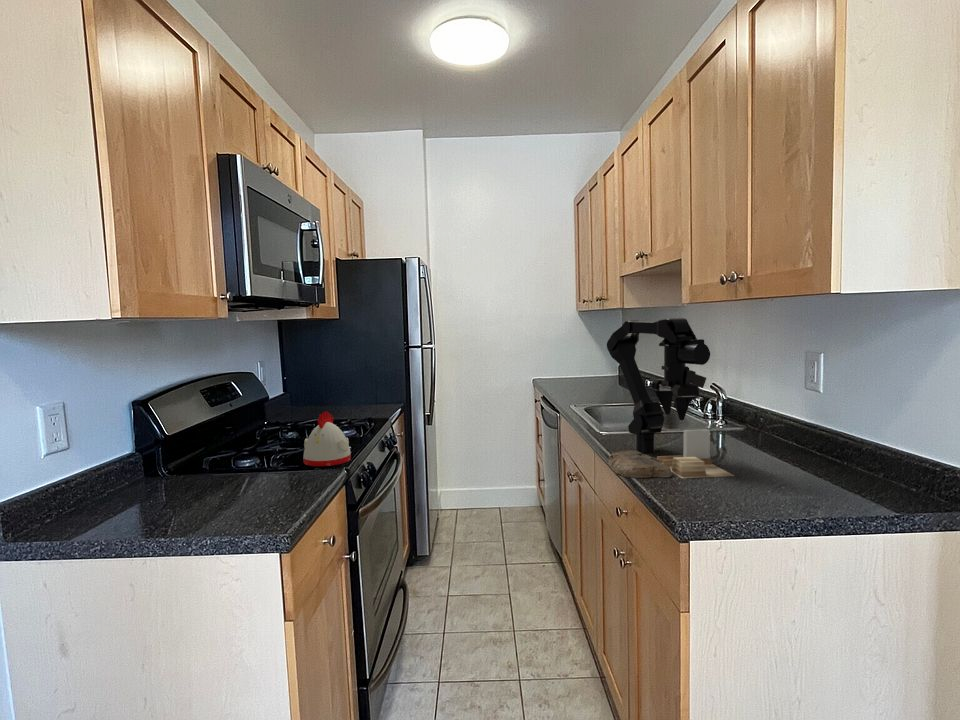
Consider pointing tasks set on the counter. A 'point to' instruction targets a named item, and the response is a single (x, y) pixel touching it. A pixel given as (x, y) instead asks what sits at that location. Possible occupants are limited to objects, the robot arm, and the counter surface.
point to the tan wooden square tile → (689, 473)
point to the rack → (709, 467)
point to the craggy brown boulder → (637, 465)
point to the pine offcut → (688, 461)
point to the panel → (697, 443)
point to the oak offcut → (688, 468)
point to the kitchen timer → (326, 444)
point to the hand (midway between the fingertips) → (674, 417)
